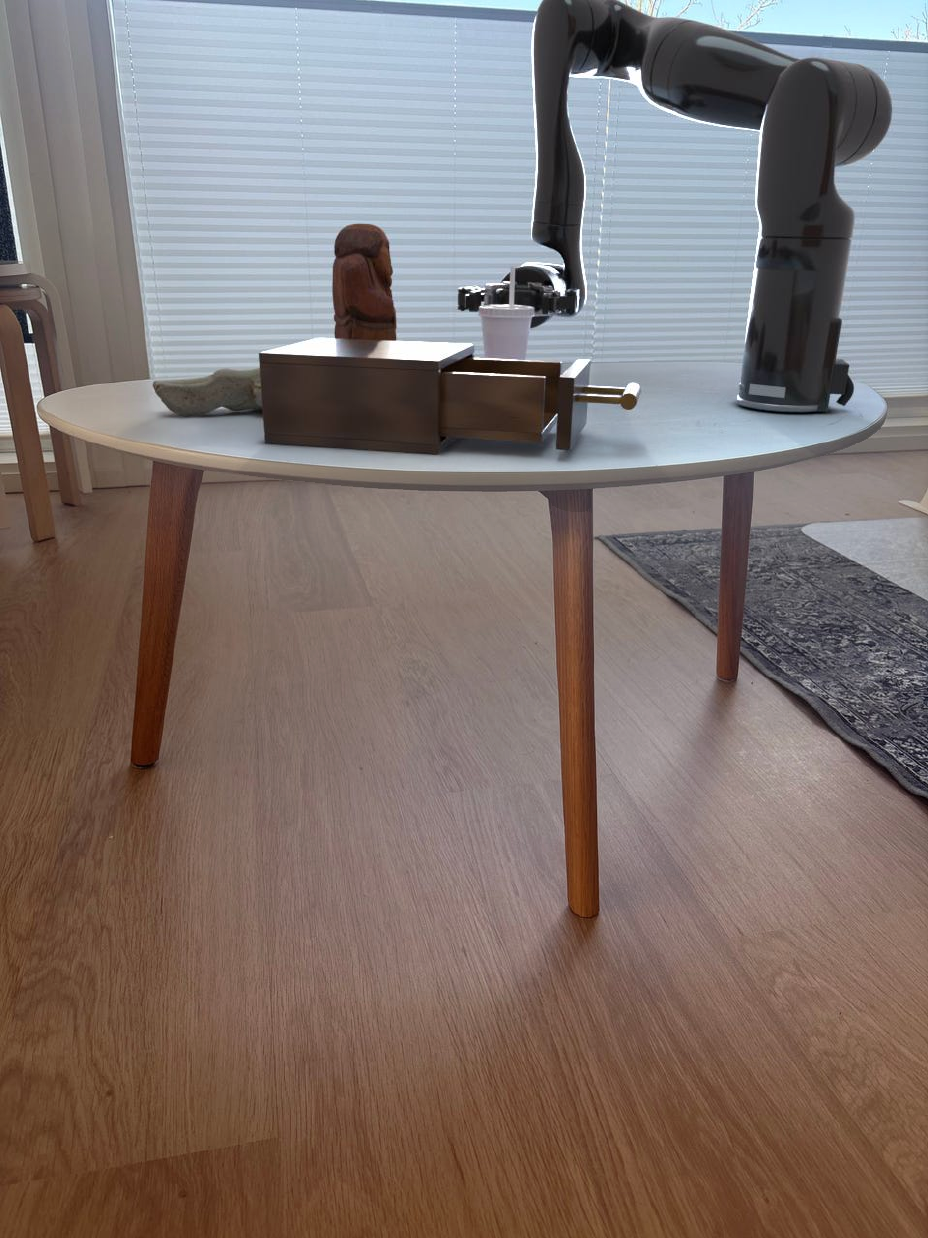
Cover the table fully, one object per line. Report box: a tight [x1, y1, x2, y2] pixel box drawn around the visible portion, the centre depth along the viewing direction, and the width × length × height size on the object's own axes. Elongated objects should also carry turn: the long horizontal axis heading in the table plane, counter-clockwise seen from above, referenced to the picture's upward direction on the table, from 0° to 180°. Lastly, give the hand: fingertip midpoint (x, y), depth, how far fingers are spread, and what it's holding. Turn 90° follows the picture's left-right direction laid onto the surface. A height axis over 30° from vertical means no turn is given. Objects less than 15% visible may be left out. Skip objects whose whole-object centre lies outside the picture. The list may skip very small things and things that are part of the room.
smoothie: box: [477, 265, 534, 360], centre depth 106 cm, size 6×6×14 cm
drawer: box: [440, 357, 642, 451], centre depth 81 cm, size 19×12×6 cm, turn 77°
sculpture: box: [152, 367, 262, 417], centre depth 94 cm, size 7×5×15 cm
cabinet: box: [258, 337, 475, 455], centre depth 84 cm, size 16×14×8 cm
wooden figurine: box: [331, 223, 398, 341], centre depth 101 cm, size 12×6×18 cm, turn 15°
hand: (508, 303), depth 105 cm, fingers open, 8 cm apart
